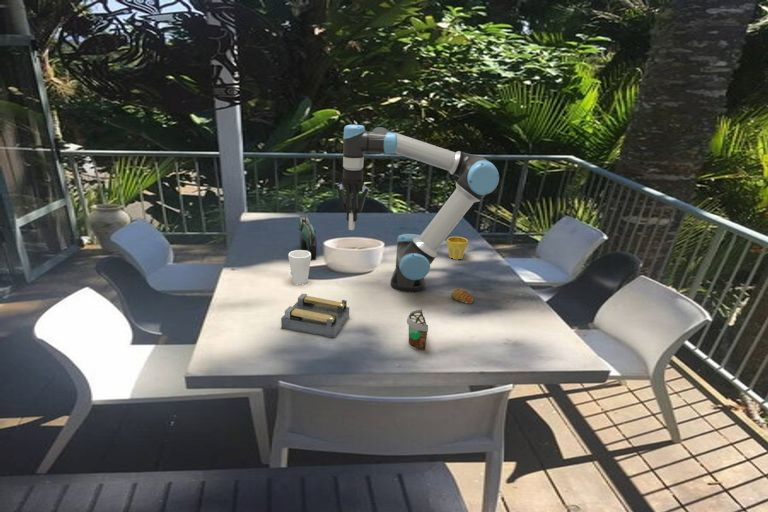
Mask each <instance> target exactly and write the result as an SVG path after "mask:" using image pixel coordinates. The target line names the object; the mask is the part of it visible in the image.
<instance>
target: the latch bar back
mask: <svg viewBox="0 0 768 512" xmlns="http://www.w3.org/2000/svg"><path fill="white" fill-rule="evenodd" d="M304 302H307V303H312V304H317V305H322V306H327V307H332V308H338V305H340V306H343V308H344V306H345V305H346V304H345V303H344V302H342V301H337V300H331V299H327V298H321V297H315V296H310V295H307V296H306V298H305V299H304Z"/></svg>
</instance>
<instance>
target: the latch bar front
mask: <svg viewBox="0 0 768 512" xmlns="http://www.w3.org/2000/svg"><path fill="white" fill-rule="evenodd" d="M291 315H294V316H299V317H304V318H308V319H313V320H318V321H323V322H327V319H331V320H332V322H333V321H334V320H335V316H331V315H326V314H321V313H316V312H311V311H306V310H301V309H296V308H295V309H294V310H293V311H292V312H291Z"/></svg>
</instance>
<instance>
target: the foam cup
mask: <svg viewBox="0 0 768 512" xmlns="http://www.w3.org/2000/svg"><path fill="white" fill-rule="evenodd" d="M311 261H312V260H311V253H310V252H308V250H301V249H295V250H292V251H290V252H289V253H288V262H289V266H290V267H289V268H290V271H291V280H292V283H293V284H294V285H296V284H298V285H297V286H302V284H304V285H306V284H307V283H309V282H308V280H309V274H310V265H311Z"/></svg>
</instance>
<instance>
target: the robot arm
mask: <svg viewBox="0 0 768 512" xmlns="http://www.w3.org/2000/svg"><path fill="white" fill-rule="evenodd" d="M342 138H343V139H342V140H343V142H342V143H343V149H342V150H343V152H342V153H343V155H342V158H343V159H342V167H343V169H342V181H341V183H339V184H337V185H336V186H335V189H336V192H338V193H337V194H338V197H339V201H340V203H339V204H340V206H341V210H342V212H346V221H348V231H349V230H350V231H354V230H355V228H356V227H355V226H356V225H355V223H356V222H357V220H358V214H359V213H361V212H363V209H364V206H365V202H366V198H367V196H368V195H367V194H368V193H369V191H370V190H371V189H370V187H367V186H366V185H365V183H364V169H363V168H364V160H365V156H364V155H365V153H366V154H367V153H371V154H385V155H388V154H393V155H394V154H396V155H400V156H403V157H405V158H409V159H412V160H415V161H417V162H421V163H425V164H427V165H430V166H433V167H436V168H439V169H443V170H444V171H448V172H449V174H450V175H453V176H455V177H458V179H457V180H456V182H455V187H456V188H455V190H454V191H453V192H452V194H451V195H450V197H449V198H448V199H447V200H446V201H445V202H444V204H443V206H442V207H441V208H440V209H439V210H438V212H437V213H436V214H435V216H434V217H433V218H432V220H431V221H430V223H428V225H427V226H426V227H425V229H424V230H423V231H422V232H421V234H415V233H403V234H400V235H398V236H397V239H396V256H395V257H396V258H395V269H394V271H393V274H392V275H391V278H390V287H391V288H392V289H394V290H395V291H399V292H402V293H417V292H418V291H419V292H421V291H424V290H425V288H426V278H425V277H427V275H428V274H429V273H430V270H431V265H432V264H433V262H434V261H435V259H436V258H437V250H439V248H440V246H441V245H443V243H444V241H446V240H447V239H448V238H447V237H448V236H449V235H450V234H451V233H452V232H453V230H454V229H455V227H456V226H457V225H458V223H459V222H460V221H461V220H462V219H463V217H465V214H466V213H467V212H468V211H469V210H470V208H472V206H473V205H474V203H478V202H481V201H482V200H483V198H484V197H485V196H486V195H488V194H491V193H492V192H494V191H495V190H496V188H497V186H498V184H499V181H500V174H499V171H498V169H497V167H496V166H495V164H494V163H492V162H491V161H489V160H488V159H486V158H485V157H483V156H480V155H477V154H476V155H475V154H471V153H467V152H464V151H460V150H458V151H456V152H455V151H452V150H449V149H446V148H443V147H439V146H437V145H433V144H431V143H429V142H428V143H427V142H425V141H422V140H418V139H416V138H414V137H409V136H406V135H403V134H401V133H397V132H394V131H391V130H389V129H387V128H385V127H381V126H379V127H376V128H374V129H373V130H372V131H367V130H366V129H365V126H364V125H361V124H348V125H345V126H344V128H343V137H342ZM344 190H345V191H346V193H345V192H344ZM360 191H362V194H361V196H360V200H359V195H360V193H359V192H360ZM345 194H346V196H345ZM352 198H353V199H352Z"/></svg>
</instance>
